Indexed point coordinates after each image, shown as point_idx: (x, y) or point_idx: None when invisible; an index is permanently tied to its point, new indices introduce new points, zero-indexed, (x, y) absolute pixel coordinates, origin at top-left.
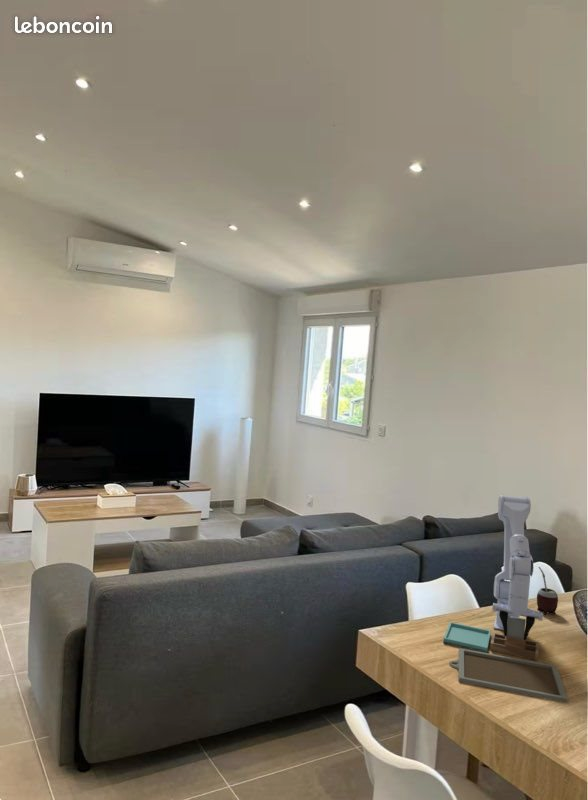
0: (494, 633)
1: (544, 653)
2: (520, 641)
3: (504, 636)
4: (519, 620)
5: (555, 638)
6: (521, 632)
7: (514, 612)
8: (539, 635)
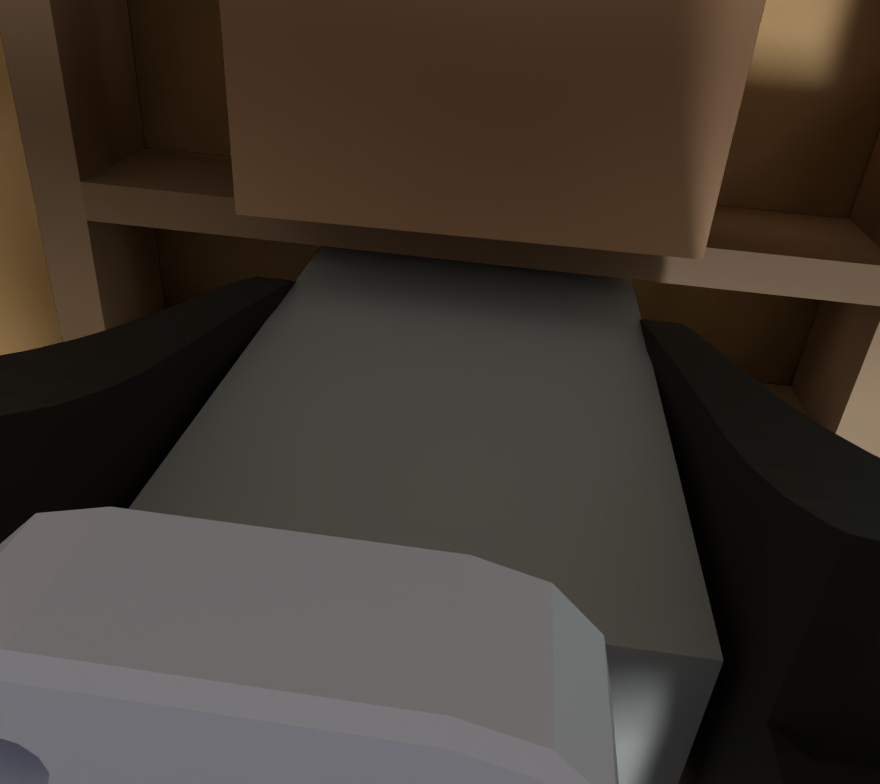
0: None
1: (25, 241)
2: (346, 77)
3: None
4: None
5: None
6: (307, 362)
7: (540, 770)
8: None
